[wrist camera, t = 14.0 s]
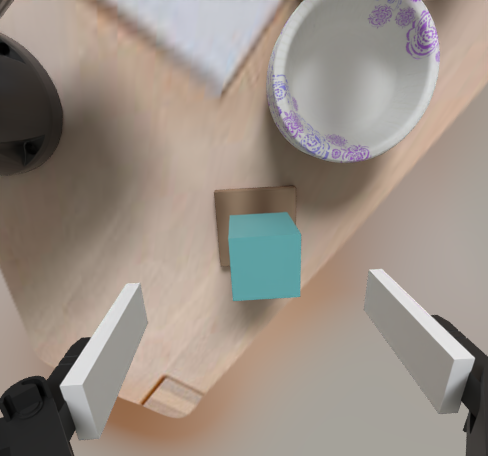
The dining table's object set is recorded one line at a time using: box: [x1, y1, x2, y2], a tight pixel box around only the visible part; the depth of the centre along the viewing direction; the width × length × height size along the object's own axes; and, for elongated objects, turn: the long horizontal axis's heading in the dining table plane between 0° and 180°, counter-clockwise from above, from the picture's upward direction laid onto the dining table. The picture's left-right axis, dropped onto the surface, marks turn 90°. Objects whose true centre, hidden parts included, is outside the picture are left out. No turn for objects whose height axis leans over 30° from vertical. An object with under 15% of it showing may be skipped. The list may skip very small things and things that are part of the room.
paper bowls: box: [266, 0, 440, 163], centre depth 28 cm, size 15×15×8 cm
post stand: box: [214, 186, 296, 266], centre depth 32 cm, size 10×10×12 cm
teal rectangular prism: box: [228, 212, 301, 301], centre depth 29 cm, size 6×6×7 cm
